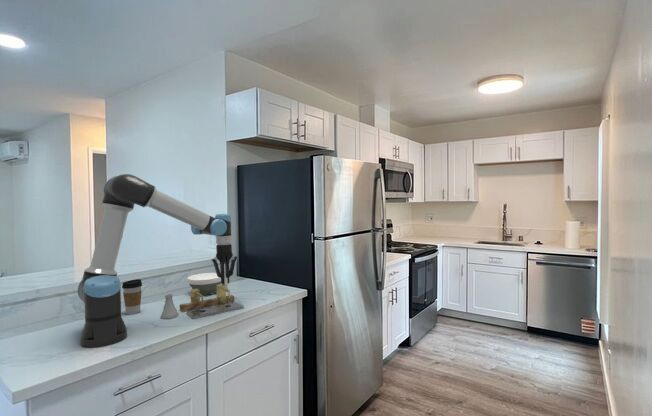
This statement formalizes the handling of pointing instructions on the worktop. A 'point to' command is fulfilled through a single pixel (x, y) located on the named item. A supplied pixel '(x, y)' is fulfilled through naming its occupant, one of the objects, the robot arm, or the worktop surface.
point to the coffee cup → (132, 296)
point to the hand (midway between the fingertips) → (225, 290)
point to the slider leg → (222, 293)
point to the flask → (169, 308)
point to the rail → (202, 301)
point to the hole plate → (214, 310)
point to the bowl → (204, 282)
